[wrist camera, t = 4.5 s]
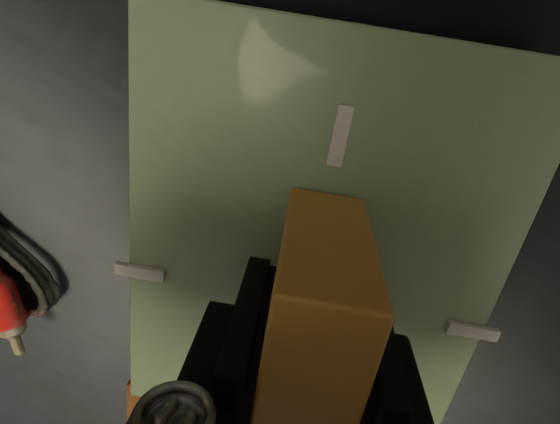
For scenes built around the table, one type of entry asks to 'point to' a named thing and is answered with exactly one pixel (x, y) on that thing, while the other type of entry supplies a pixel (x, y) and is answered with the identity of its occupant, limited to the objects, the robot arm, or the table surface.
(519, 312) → the table surface
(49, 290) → the composite cable
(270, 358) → the lock lever
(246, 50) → the green lever base
